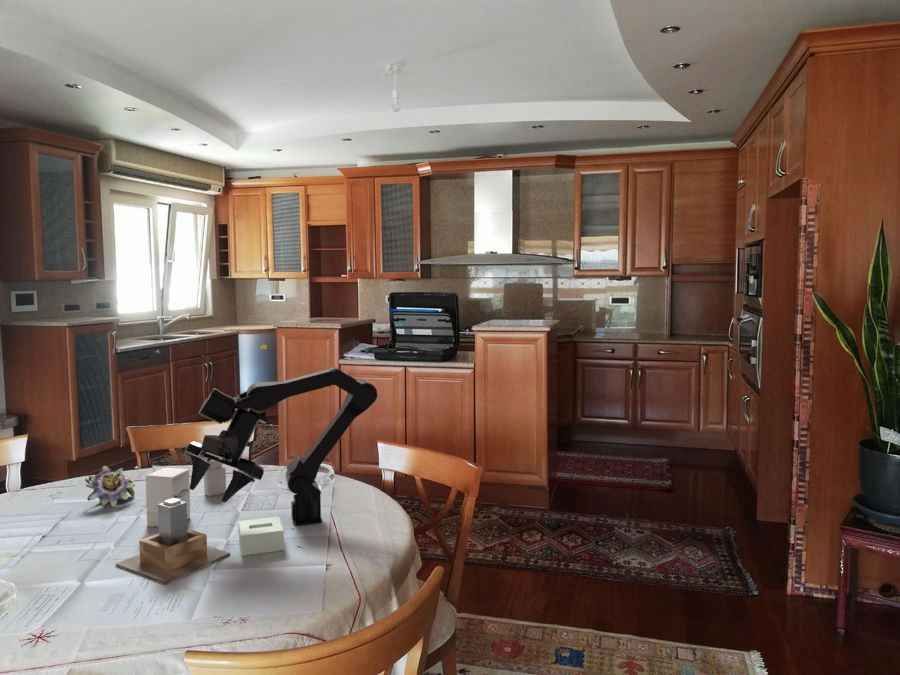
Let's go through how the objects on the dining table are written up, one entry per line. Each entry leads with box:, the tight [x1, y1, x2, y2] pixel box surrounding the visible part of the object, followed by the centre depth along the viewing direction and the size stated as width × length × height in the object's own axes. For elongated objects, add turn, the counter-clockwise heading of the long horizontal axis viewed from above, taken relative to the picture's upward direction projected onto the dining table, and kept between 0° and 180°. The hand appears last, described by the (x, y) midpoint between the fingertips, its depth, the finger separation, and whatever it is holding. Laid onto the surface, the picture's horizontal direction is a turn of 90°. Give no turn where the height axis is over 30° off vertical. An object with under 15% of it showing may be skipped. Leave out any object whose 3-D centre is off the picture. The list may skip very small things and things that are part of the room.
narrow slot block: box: [238, 516, 285, 557], centre depth 148 cm, size 9×9×4 cm
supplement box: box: [145, 467, 191, 528], centre depth 161 cm, size 7×7×13 cm
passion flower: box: [84, 465, 136, 508], centre depth 175 cm, size 11×11×12 cm
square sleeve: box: [115, 528, 231, 585], centre depth 140 cm, size 16×16×5 cm
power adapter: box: [203, 458, 227, 497], centre depth 183 cm, size 3×5×12 cm, turn 135°
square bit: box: [158, 498, 188, 547], centre depth 140 cm, size 4×4×13 cm
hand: (207, 495), depth 150 cm, fingers open, 9 cm apart
